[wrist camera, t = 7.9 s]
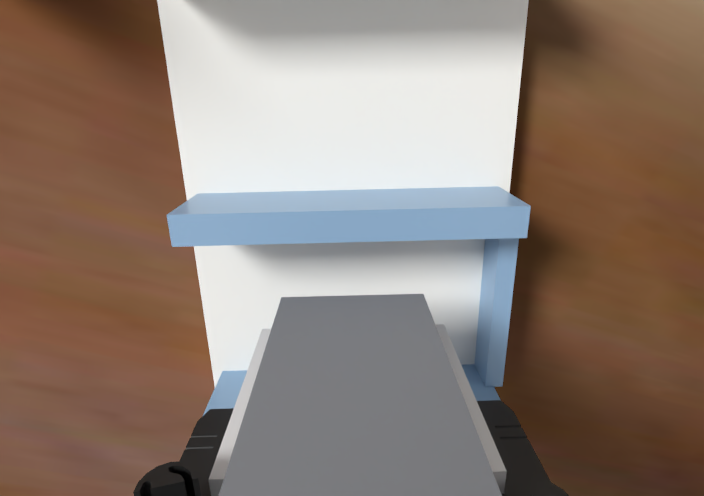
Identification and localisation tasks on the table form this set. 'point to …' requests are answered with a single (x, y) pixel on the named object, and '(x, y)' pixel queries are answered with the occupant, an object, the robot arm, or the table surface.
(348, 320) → the plug
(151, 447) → the table surface
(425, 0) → the slotted holder tray
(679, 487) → the table surface
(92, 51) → the table surface
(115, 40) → the table surface
